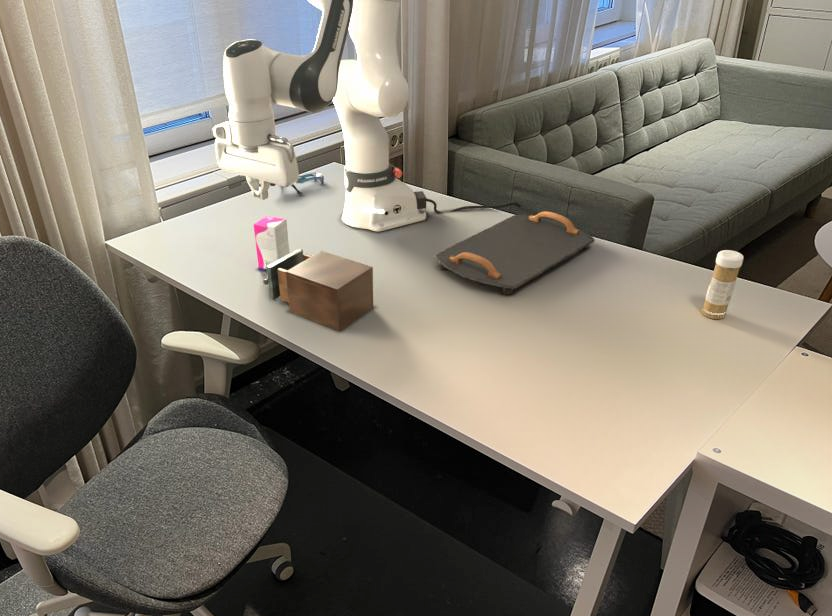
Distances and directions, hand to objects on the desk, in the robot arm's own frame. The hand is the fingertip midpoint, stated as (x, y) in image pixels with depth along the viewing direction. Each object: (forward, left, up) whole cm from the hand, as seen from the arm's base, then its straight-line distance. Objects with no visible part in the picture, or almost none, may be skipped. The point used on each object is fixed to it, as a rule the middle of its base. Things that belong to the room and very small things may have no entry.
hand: (260, 197), depth 148 cm
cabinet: (-10, +15, -21) cm, 28 cm away
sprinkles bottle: (-83, +44, -21) cm, 96 cm away
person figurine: (-20, -56, -21) cm, 63 cm away
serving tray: (-58, +7, -21) cm, 62 cm away
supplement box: (-3, -10, -21) cm, 24 cm away
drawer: (-5, +8, -20) cm, 22 cm away
